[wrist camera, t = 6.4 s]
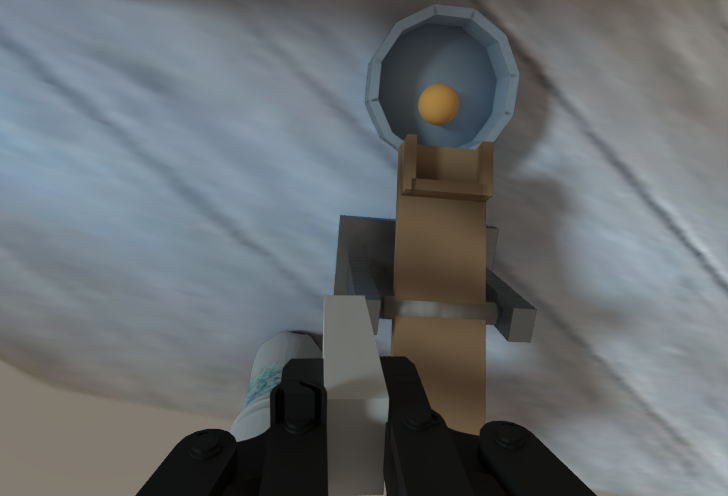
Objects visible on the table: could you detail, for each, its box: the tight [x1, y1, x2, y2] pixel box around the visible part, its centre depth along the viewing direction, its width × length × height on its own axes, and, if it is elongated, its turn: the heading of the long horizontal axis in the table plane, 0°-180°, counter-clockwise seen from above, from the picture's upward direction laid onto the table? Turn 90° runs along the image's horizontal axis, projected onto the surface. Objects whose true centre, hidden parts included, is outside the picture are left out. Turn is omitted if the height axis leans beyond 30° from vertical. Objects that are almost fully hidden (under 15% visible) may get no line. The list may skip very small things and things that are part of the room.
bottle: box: [230, 330, 323, 442], centre depth 34 cm, size 7×7×20 cm
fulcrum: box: [334, 215, 537, 342], centre depth 37 cm, size 9×14×12 cm, turn 85°
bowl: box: [365, 4, 520, 152], centre depth 37 cm, size 11×11×4 cm
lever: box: [381, 134, 498, 436], centre depth 35 cm, size 22×8×8 cm, turn 175°
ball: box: [418, 83, 459, 125], centre depth 37 cm, size 3×3×3 cm
